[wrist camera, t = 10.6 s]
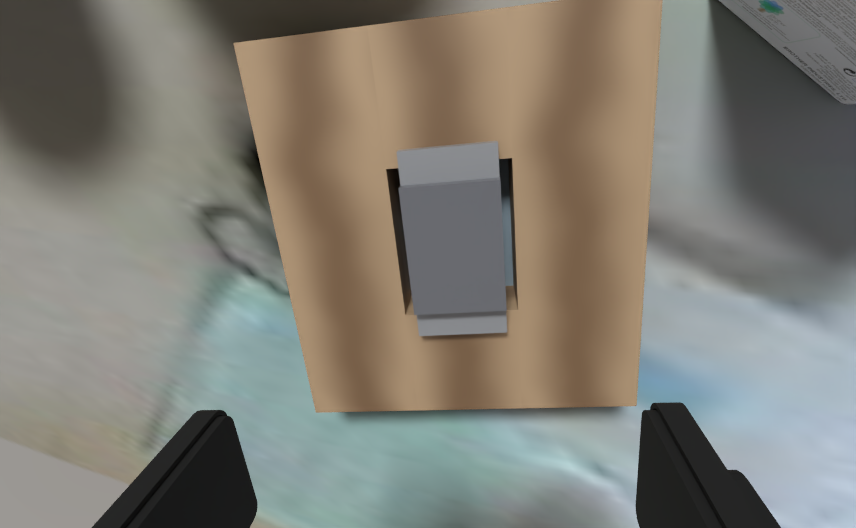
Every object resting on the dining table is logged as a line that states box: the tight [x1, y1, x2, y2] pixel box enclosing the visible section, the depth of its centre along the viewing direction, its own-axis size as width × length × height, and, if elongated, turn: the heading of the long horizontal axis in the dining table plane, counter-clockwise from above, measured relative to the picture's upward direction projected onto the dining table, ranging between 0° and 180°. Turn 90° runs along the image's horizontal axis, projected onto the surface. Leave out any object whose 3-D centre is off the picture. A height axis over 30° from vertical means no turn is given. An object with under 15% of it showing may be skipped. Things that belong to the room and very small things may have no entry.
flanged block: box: [397, 141, 507, 336], centre depth 26 cm, size 5×10×5 cm, turn 6°
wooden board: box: [233, 0, 662, 412], centre depth 27 cm, size 20×22×4 cm
